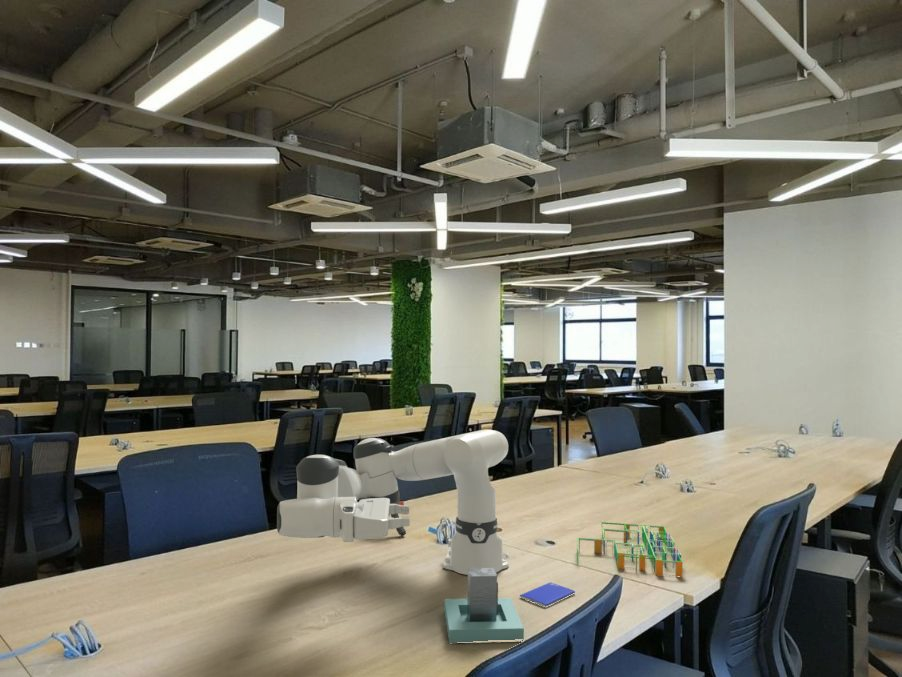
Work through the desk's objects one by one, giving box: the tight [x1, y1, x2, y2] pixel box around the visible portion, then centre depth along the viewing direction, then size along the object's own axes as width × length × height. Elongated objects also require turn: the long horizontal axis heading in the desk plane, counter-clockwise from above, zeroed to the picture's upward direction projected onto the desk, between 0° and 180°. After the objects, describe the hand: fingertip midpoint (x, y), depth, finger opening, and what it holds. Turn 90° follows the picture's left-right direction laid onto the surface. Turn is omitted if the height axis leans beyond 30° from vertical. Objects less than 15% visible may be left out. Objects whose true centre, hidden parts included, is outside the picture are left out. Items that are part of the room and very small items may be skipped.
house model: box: [576, 521, 683, 578], centre depth 190 cm, size 35×30×5 cm
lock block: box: [466, 568, 499, 622], centre depth 138 cm, size 5×6×11 cm
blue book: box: [519, 581, 576, 607], centre depth 155 cm, size 2×8×12 cm
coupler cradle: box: [443, 597, 525, 644], centre depth 138 cm, size 16×16×3 cm
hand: (409, 515), depth 140 cm, fingers open, 8 cm apart
